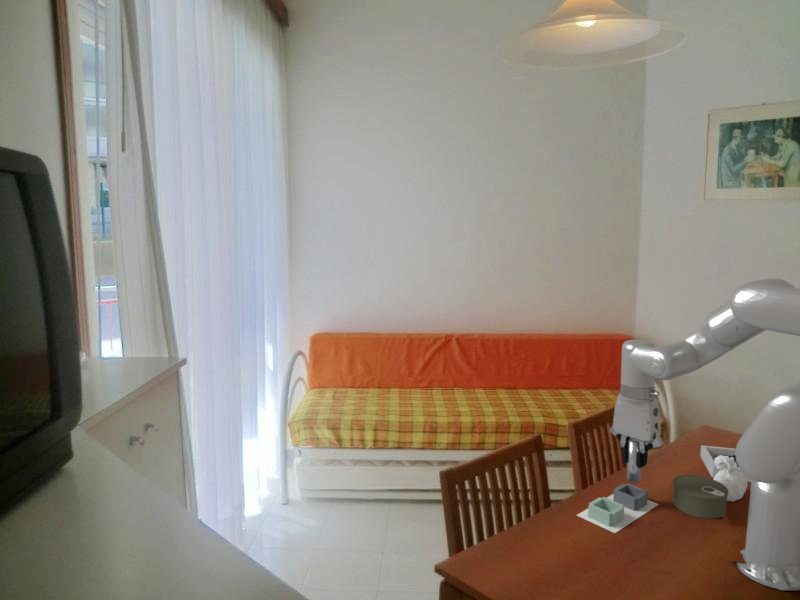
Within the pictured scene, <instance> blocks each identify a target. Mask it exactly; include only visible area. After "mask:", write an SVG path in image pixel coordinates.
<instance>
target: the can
mask: <svg viewBox="0 0 800 600" xmlns="http://www.w3.org/2000/svg"><path fill="white" fill-rule="evenodd" d="M713 479H714V478H710V477H706V476H702V475H697V474H696V475H695V474H683V475H682V474H681V475H677V476H675V477H674V478H673V479H672V499H671V500H672V504H673V505H674V507H675V508H677V509H678V510H679V511H681V512H682V513H685V514H687V515H690V516H693V517H695V518H700V519H701V518H702V519H710V520H711V519H714V520H715V519H719V518H722V520H723V521H725V520H726V511H727V504H728V501H727V496H728V489H727V488H726V487H725V486H724V485H723V484H721V483H720V482H718V481H715V480H713Z"/></svg>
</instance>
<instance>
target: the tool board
mask: <svg viewBox="0 0 800 600" xmlns="http://www.w3.org/2000/svg"><path fill="white" fill-rule="evenodd" d="M648 493H649V491H648V490H647V489H644V488H641V487H638V486H635V485H633V484H630V483H627V482H626V484H625V483H622V484H620V485H618V486H617V487H615V488H614V489H613V493H612V494H610V495H608V496H607V497H606V496H603V497H600V496H599V497H597V498H596V499H594V500H592V501H591V502H588V505H587V506H588V508H586V509H584V510H583V511H581V512H580V513H577V514H576V516H577V517H579V518H581V519H583V520H585V521H587V522H590V523H592V524H594V525H597V526H598V527H601V528H603V529H604V530H607V531H610V532H611V533H614V534H616V533H618V532H619V531H621V530H622V529H623V528H625V527H626V526H628V525H629V524H632V523H633V522H635V521H636V520H638V519H639V518H640V517H642V516H644V515H645V514H646V513H648V512H650V511H651V510H653V509H654V508H656V507H657V506H659V503H657V502H654V501H651V500H649V499H648V497H649V494H648Z"/></svg>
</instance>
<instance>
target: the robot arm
mask: <svg viewBox="0 0 800 600" xmlns="http://www.w3.org/2000/svg"><path fill="white" fill-rule="evenodd" d="M766 331H769V332H776V333H782V334H784V335H785V334H786V335H791V336H796V337H800V288H797V287H795V286H794V285H793V284H791V283H790V282H788V281H787V280H784V279H782V278H776V277H775V278H772V277H771V278H765V279H758V280H754V281H750V282H749V281H748V282H746V283H744V284H742V285H740V286H739V287H738V288H737V289H736V290H735V291H734V292H733V294H732V296H731V299H730V300H728V301H727V302H725V303H724V304H722V305H720V306H719V307H717V308H715V309H714V310H712V311H710V312H709V313H708V314H707V316H706V317H705V324H704V325H703V326H701V327H700V328H698V330H696V331H694V332H692V333H691V334H690V335H688V336H686V337H685V338H683V339H681V340H679V341H677V342H673V343H668V344H665V345H660V346H656V345H655V344H654V342H652V341H649V340H646V339H645V340H644V339H629V340H625V341H624V342H623V343H622V346H621V360H620V362H621V366H620V367H621V368H620V392H619V393H618V395H617V397H616V402H615V405H614V412H613V423H612V425H611V427H610V429H609V432H610V433H611V434H613V436H615V437H616V439H617V440H618V442H619V444H620V447H621V448H622V451H621V453H622V454H621V457H622V463H623V464H628V440H629V439H638V440H639V446H640V451H639V452H638V453H637V467H638V468H641V469H642V468H644V467H646V465H647V464H648V460H649V459H648V455H649V451H651V450H652V449H654V448H659V447H661V446H663V445H664V442H663V440H662V438H661V432H662V431H661V430H662V428H661V425H662V424H661V412H660V406H659V400H658V397H660V391H658V390H656V386H655V385H656V383H655V382H656V380H660V381H669V380H672V379H675V378H679V377H681V376H684V375H687V374H690V373H693V372H696V371H697V370H699V369H701V368H702V367H705V366H707V365H708V364H710V363H712V362H714V361H716V360H717V359H719V358H721V357H722V356H724V355H725V354H727V353H728V352H729V353H730V352H731V351H733V350H734V349H735V348H737V347H739V346H741V345H742V344H744V343H746V342H748V341H749V340H751V339H753V338H754V337H756V336H758V335H760V334H761V333H763V332H766ZM656 397H657V398H656ZM735 449H736V451H735V456H736V461H737V464H738V466H739V468H740V469H741V471H742V472H743V473H744V474H745V475H746V476H747V477H749V478H750V479H752V482H750V493H749V494H750V495H749V500H748V501H749V503H748V511H747V513H748V515H747V525H746V526H747V527H746V536H745V547H744V548H743V549H742V550H739V553H740V555H741V556H742V559H743V560H744V561H737V560H735V566H736V567H737V569H739V571H740V572H741V573H742V574H743V575H745V576H746V577H748V578H749V579H751V580H752V581H754V582H756V583H758V584H760V585H763V586H766V587H768V588H771V589H772V588H773V589H776V590H779V591H790V592H791V591H792V592H793V591H800V379H799V380H798V381H796V382H794V383H793V384H791V385H789V386H787V387H785V388H782V389H781V390H779V391H777V392H776V393H774V394H773V395H772V396H771V397H770V398H769V399H768V400H767V401H766V402H765V403H764V405H763V406H762V408H761V409H760V411H759V412H758V413H757V415H756V416H755V417H754V419H753V420H752V422H751V423H750V424H749V425H748V427H747V428H746V429H745V431H744V433H743V434H742V435H741V436H740V438H739V440H738V442H737V443H736V448H735Z"/></svg>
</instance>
